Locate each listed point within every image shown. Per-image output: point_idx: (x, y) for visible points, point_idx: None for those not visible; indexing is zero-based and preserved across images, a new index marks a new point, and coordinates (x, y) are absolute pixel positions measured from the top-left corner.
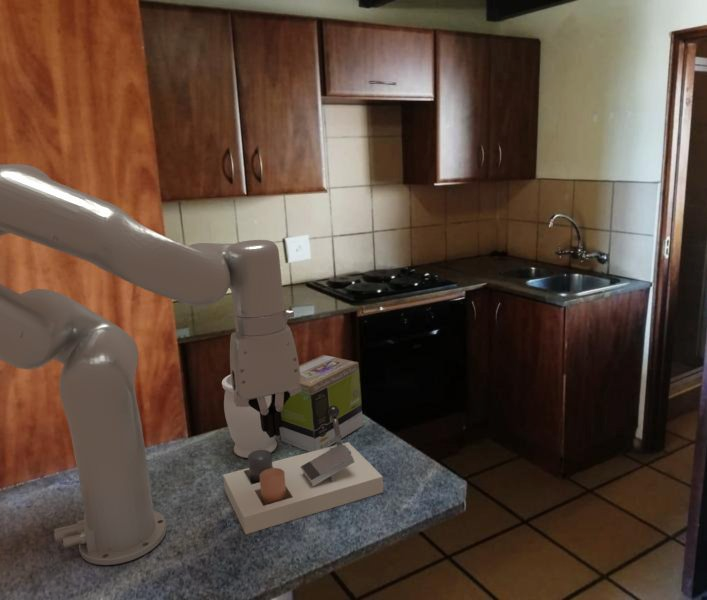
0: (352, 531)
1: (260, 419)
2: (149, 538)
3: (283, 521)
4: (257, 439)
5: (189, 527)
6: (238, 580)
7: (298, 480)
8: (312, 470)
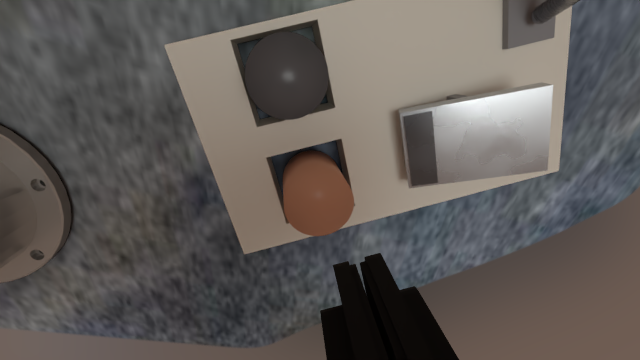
0: (430, 255)
1: (325, 348)
2: (38, 239)
3: None
4: None
5: (122, 188)
6: (242, 328)
7: (379, 140)
8: (426, 157)
